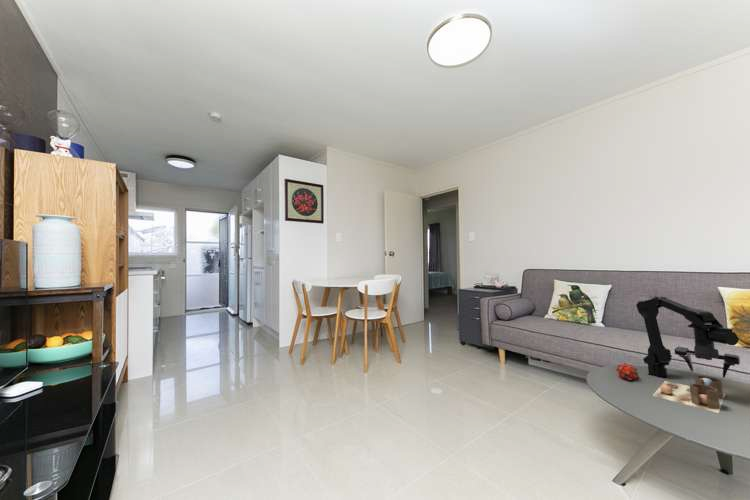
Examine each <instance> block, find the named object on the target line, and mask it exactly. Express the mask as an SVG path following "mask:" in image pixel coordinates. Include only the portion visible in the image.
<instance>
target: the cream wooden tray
mask: <svg viewBox="0 0 750 500" xmlns="http://www.w3.org/2000/svg"><path fill="white" fill-rule="evenodd" d="M701 378H708V379H710V380H711V386H707V385H704V380H702V379H701ZM694 380H695V383H690V384H689V385H687V384H682V383H677V382H672V381H669V380H668V381H667V380H664V382H662V383H661V385H668V386H670V387H671V388H672V390H673V392H672V394H665V393H663V392H662V391H661V390H660V386H659V387H658V388H657V390H656V391H655V392H654V393H653V394H652V397H656V398H659V399H663V400H667V401H671V402H675V403H679V404H682V405H687V406H689V407H690V406H691V407H695V408H698V409H701V410H705V411H710V412H712V413H716V414H717V413H718V414H719V413H720V410H721V407H722V404H723V402H724V399H725V396H726V394H725V393H724V392H723V383H722V382H723V381H722V380H721V379H719V378H716V377H712V376H708V375H695V377H694ZM700 394H705V395H707V403H708V405H705V404H702V403H701V402H700V397H699V395H700Z"/></svg>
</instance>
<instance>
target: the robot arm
mask: <svg viewBox="0 0 750 500" xmlns="http://www.w3.org/2000/svg"><path fill="white" fill-rule="evenodd" d="M635 307H636V309H637V312H638V314H639V315H640V316H641V317H642V318H643V321H644V326H645V329H646V333H647V337H648V340H649V346H648V348H647V355H646V356H644V357H643V358H642V360H643V363H644V364H647V368H648V369H647V370H648V373H647V376H652V377H656V378H661V379H666V378H668V377H669V374H668V368H667V367H666V366H669V365H670V363H671V362H672V358H673V356H672V354H671V350H670V348H668V349H667V348H666V347H665V346H664V344H663V340H662V335H661V331H660V327H659V323H658V319H657V317H658V314H659V313H660V311H659V310H660V308H665V309H667V310H669V311H672V312H674V313H677V314H679V315H681V316H683V317H684V319H686V320H687V321H689V322H690V324H688V325H687V327H688V328H691V329H693V337H694V347H693V349H694V350H690V349H689V347H684V346H683V347H682V346H676V347H675V348H674V355H677V356H678V357H680V358H682V359H683V360H684V361H685V363H686V364H687V366H688V368H689V369H690V372H694V366H693V362H692V357H691V356H694V357H695V358H697V359H700V360H701V359H703V360H706V361H712V360H713V359H718V360H722V361H723V367H722V378H723V379H725V378H726V375H727V372H728V370H729V368H730V367H731V366H733V367H734V366H736V365H738V366H739V365H740V363H741V358H740V356H739V355H738V354H730V353H724V355H723V354H720V353H719V350H718V349H719V348H718V349H717V348H716V347H715V343H719V344H722V345H723V344H724V345H728V346H735V345H737V344H738V343H739V341H740V338H739V336H738V334H737V333H736V332H734V331H733V328H730V327H729V328H728V327H724V326H723V325H722V323H721V322H720V321H719V320H718V319H717V318H716V317H715V316H714V313H712V312H710V311H707V310H703V309H698V308H691V307H690V306H686V305H684V304H681V303H679V302H677V301H674V300H672V299H669V298H668V297H665V296H655V297H653V298H649V299H647V300H640V301H638V302H637V303H636V305H635Z"/></svg>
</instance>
